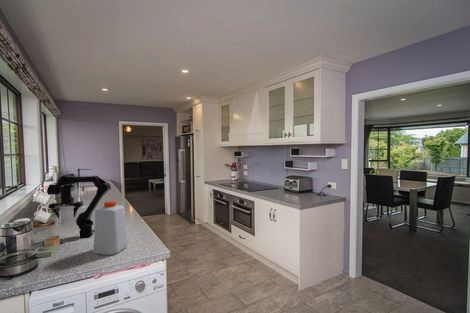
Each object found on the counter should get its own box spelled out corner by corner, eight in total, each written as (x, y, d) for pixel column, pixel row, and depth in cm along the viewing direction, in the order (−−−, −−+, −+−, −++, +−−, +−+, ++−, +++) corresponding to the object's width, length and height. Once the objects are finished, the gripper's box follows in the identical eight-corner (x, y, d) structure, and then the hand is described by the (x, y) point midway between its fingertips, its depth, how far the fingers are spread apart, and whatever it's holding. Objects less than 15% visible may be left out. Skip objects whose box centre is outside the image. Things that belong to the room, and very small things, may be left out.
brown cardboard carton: (59, 244, 156) (59, 235, 156) (54, 249, 149) (53, 239, 148) (50, 245, 155) (50, 235, 155) (44, 250, 147) (44, 240, 147)
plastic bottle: (114, 256, 138) (113, 205, 137) (90, 254, 141) (88, 204, 140) (130, 245, 153) (129, 199, 152) (108, 244, 156) (107, 199, 155)
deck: (66, 242, 160) (65, 237, 160) (51, 256, 139) (51, 250, 139) (42, 244, 156) (41, 239, 156) (23, 258, 136) (23, 253, 136)
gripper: (85, 191, 179) (86, 213, 179) (55, 193, 174) (55, 215, 174) (80, 194, 168) (80, 217, 169) (47, 196, 163) (48, 220, 164)
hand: (66, 217), depth 169 cm, fingers open, 9 cm apart
